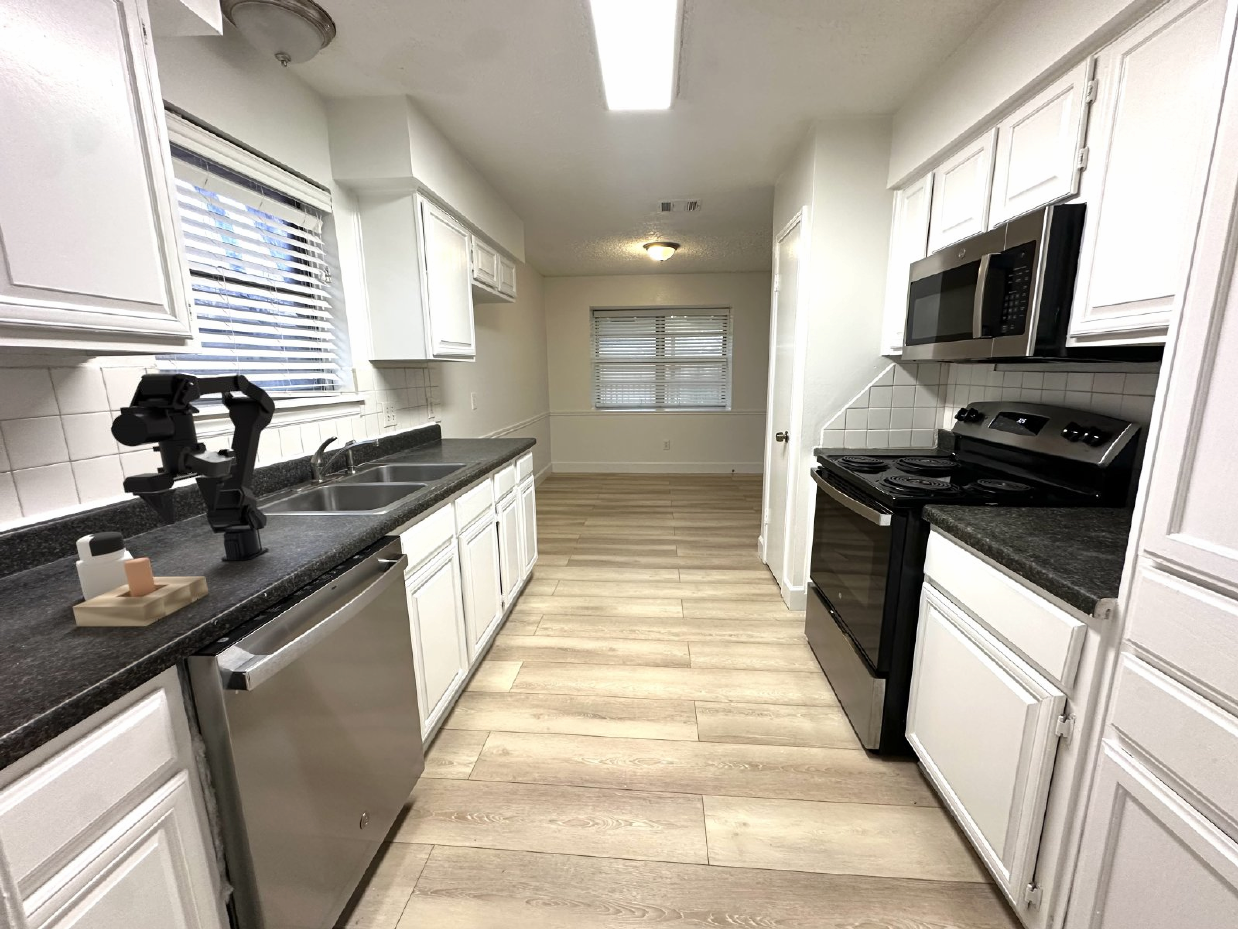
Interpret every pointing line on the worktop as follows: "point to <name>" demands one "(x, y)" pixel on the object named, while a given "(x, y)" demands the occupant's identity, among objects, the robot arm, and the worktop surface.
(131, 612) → the socket block
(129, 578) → the peg
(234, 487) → the robot arm
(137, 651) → the worktop surface
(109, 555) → the medicine bottle
